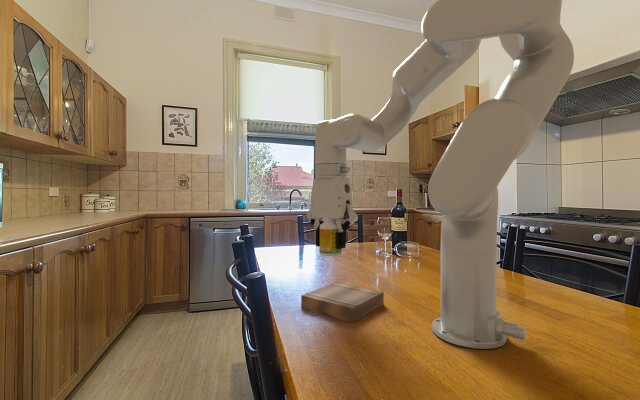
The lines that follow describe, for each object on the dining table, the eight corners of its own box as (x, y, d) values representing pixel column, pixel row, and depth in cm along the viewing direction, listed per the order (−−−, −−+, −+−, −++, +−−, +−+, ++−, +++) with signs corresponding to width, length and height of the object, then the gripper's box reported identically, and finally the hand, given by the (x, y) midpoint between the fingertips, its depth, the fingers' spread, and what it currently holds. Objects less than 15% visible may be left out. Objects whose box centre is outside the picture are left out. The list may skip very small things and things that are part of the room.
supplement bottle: (333, 257, 73) (333, 215, 73) (315, 254, 76) (315, 214, 76) (345, 254, 77) (345, 214, 77) (328, 251, 80) (328, 213, 80)
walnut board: (383, 304, 75) (383, 291, 75) (351, 322, 64) (351, 307, 64) (336, 293, 84) (336, 282, 84) (301, 308, 73) (301, 294, 73)
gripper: (369, 172, 74) (369, 248, 74) (313, 175, 85) (313, 242, 85) (352, 170, 68) (351, 253, 68) (294, 173, 79) (294, 245, 79)
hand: (330, 246), depth 76 cm, fingers closed on supplement bottle, 5 cm apart
